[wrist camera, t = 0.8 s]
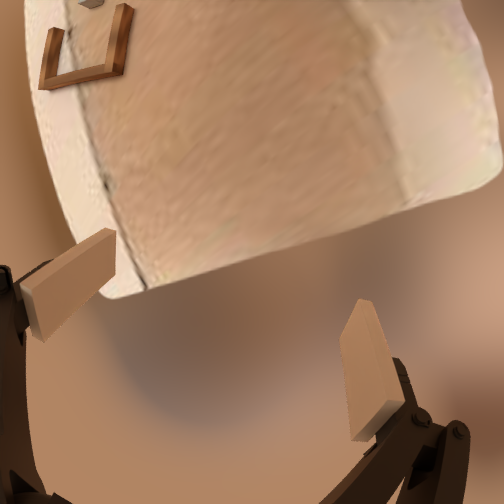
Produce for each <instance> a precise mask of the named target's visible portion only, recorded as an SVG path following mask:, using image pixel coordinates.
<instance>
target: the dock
mask: <svg viewBox="0 0 504 504" xmlns="http://www.w3.org/2000/svg"><path fill="white" fill-rule="evenodd" d="M133 11H134V9H133V8H132V7H130V6H129V5H127V4H125V3H123V4H119V5H116V9H115V14H114V18H113V23H112V27H111V32H110V37H109V43H108V49H107V55H106V61H105V64H102V65H98V66H93V67H89V68H85V69H81V70H77V71H73V72H69V73H66V74H62V75H59V76H56V73H57V66H58V60H59V54H60V49H61V44H62V39H63V34H64V30H62V29H59V28H56V27H53V28H51V29H49V30H48V34H47V39H46V44H45V48H44V54H43V59H42V65H41V72H40V79H39V87H38V90H52V89H56V88H59V87H63V86H67V85H71V84H76V83H80V82H85V81H89V80H94V79H100V78H105V77H111V76H117V75H123V68H124V61H125V54H126V48H127V42H128V36H129V31H130V26H131V21H132V16H133Z"/></svg>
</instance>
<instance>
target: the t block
mask: <svg viewBox="0 0 504 504" xmlns="http://www.w3.org/2000/svg"><path fill="white" fill-rule="evenodd" d="M103 2H104V0H79V2H78V4H80V5H83V6H85V7H87V8H89V9H90V8H93V7H96V6H99V5H102V4H103Z"/></svg>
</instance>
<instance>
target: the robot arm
mask: <svg viewBox="0 0 504 504" xmlns="http://www.w3.org/2000/svg"><path fill="white" fill-rule="evenodd" d="M115 258H116V231H115V230H111V229H108V228H104V229H102V230H100V231H99V232H97V233H95V234H94V235H92V236H90V237H89V238H87V239H85V240H84V241H82V242H81V243H79V244H77V245H76V246H74V247H73V248H71V249H69V250H68V251H66V252H65V253H63V254H62V255H60V256H59V257H57V258H56V259H52V260H49V261H46V262H43V263H42V264H41V265H39V266H37V268H34V269H33V270H32V271H31V272H29V273H27V274H26V275H24V276H23V277H21V278H20V279H19V280H18V281H16V282H15V283H13V279H12V274H11V269H10V268H9V267H8V266H6V265H0V504H72V503H71V502H69V501H67V500H65V499H64V498H62V497H61V496H59V495H57V494H56V493H53V495H52V496H51V495H47V494H46V491H45V488H44V485H43V483H42V480H41V478H40V477H39V475H38V473H37V470H36V466H35V462H34V456H33V451H32V445H31V437H30V430H29V421H28V410H27V396H26V337H27V336H26V331H25V329H26V328H27V327H29V326H30V329H31V332H32V336H34V337H36V338H37V339H39V340H40V341H42V342H45V341H46V340H47V339H48V338H49V337H50V336H51V335H52V334H53V333H54V332H55V331H56V330H57V329H58V328H59V327H60V326H61V325H62V324H63V323H64V322H65V321H66V320H67V319H68V318H69V317H70V316H71V315H72V314H73V313H74V312H75V311H77V310H78V309H79V308H80V307H81V306H82V305H83V304H84V303H85V302H86V301H87V300H88V299H89V298H90V297H91V296H92V295H94V294H95V293H96V292H97V291H98V290H99V289H100V288H101V287H102V286H103V285H105V284H106V283H107V282H108V281H109V280H110V279H111V278H112V277H113V276H115ZM339 343H340V349H341V357H342V364H343V371H344V379H345V387H346V395H347V403H348V413H349V424H350V433H351V441H362V442H368V441H369V440H370V439H371V438H372V437H373V436H374V435H376V443H375V444H374V445H373V446H372V447H371V448H370V449H368V450H367V451H366V452H365V453H364V454H363V455H364V457H363V458H362V459H361V460H360V461H359V463H358V464H357V465H356V466H355V467H354V468H353V469H352V470H351V471H350V473H349V474H348V475H347V476H346V477H345V478H344V479H343V480H342V481H341V482H340V483H339V484H338V485H337V486H336V487H335V489H333V490H332V491H331V492H330V493H329V494H328V495H327V496H326V497H325V498H324V499H323V500H322V501H321V502H320V503H319V504H386V503H387V502H388V500H389V499H390V498H391V496H392V495H393V494H394V492H395V491H396V489H397V488H398V486H399V485H400V483H401V482H402V480H403V479H404V482H403V485H402V487H401V490H400V493H399V496H398V499H397V501H396V504H463V498H464V493H465V486H466V479H467V472H468V463H469V452H470V431H469V429H468V427H467V426H466V425H465V424H464V423H462V422H461V421H458V420H454V421H451V422H450V423H449V424H448V425H447V426H446V427H444V426H441V425H438V424H435V423H433V422H432V418H431V416H430V415H429V413H428V412H427V411H426V410H424V409H422V408H420V407H418V405H417V401H416V398H415V395H414V392H413V389H412V386H411V384H410V380H409V377H408V374H407V371H406V368H405V366H404V365H403V364H402V362H401V361H400V360H399V358H393V357H392V356H391V353H390V350H389V347H388V345H387V342H386V339H385V336H384V333H383V330H382V327H381V325H380V322H379V319H378V317H377V314H376V311H375V309H374V306H373V303H372V302H371V301H368V300H364V299H360V298H359V299H358V301H357V303H356V305H355V307H354V309H353V312H352V314H351V316H350V318H349V320H348V322H347V324H346V326H345V328H344V330H343V332H342V334H341V336H340V338H339ZM404 477H405V478H404Z"/></svg>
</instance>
